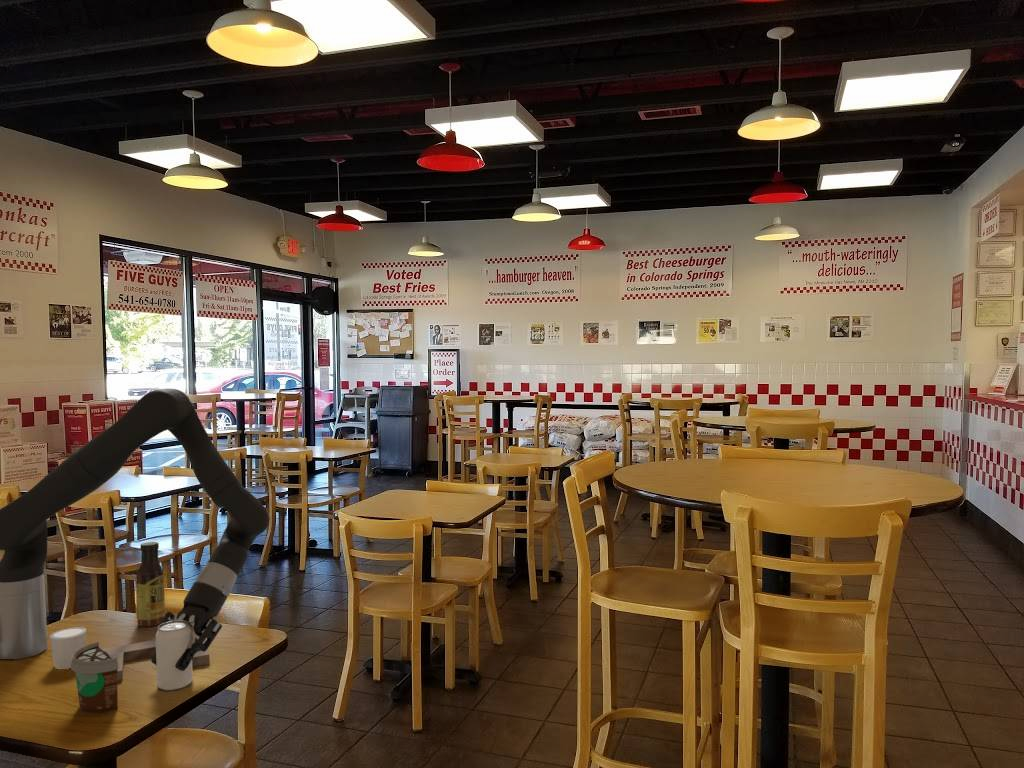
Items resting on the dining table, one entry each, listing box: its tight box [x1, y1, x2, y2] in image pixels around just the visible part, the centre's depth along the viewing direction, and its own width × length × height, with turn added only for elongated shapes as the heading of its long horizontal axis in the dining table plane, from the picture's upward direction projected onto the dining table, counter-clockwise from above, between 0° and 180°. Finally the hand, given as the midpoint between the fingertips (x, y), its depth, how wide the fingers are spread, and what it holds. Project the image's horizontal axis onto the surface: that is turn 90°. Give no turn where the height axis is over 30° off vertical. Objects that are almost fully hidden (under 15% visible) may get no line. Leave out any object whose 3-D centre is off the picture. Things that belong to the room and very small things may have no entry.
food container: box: [70, 641, 119, 714], centre depth 140 cm, size 12×6×10 cm, turn 45°
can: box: [155, 620, 194, 692], centre depth 149 cm, size 6×6×12 cm
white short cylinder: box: [49, 626, 87, 670], centre depth 160 cm, size 7×7×7 cm
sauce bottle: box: [135, 541, 166, 628], centre depth 184 cm, size 6×6×20 cm
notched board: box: [100, 638, 211, 682], centre depth 161 cm, size 22×15×2 cm
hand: (167, 666), depth 147 cm, fingers closed on can, 6 cm apart
